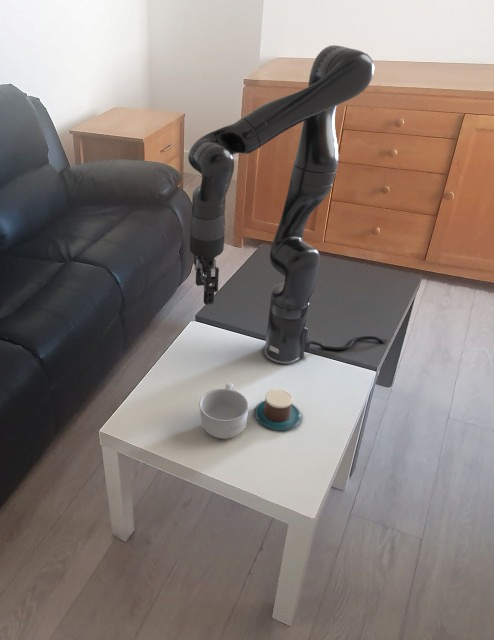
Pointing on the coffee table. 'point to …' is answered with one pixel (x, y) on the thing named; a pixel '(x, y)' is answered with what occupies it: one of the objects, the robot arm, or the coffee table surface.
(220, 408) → the teacup
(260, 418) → the cake plate
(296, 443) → the coffee table surface
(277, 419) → the cake
